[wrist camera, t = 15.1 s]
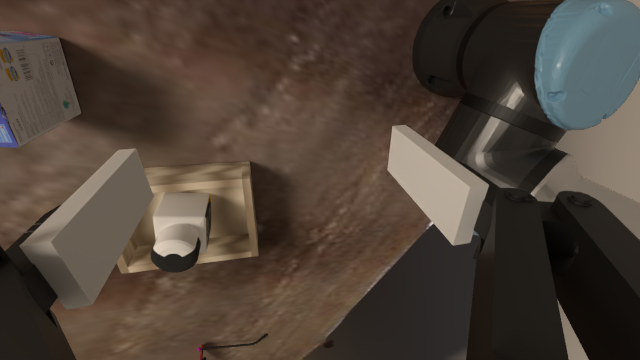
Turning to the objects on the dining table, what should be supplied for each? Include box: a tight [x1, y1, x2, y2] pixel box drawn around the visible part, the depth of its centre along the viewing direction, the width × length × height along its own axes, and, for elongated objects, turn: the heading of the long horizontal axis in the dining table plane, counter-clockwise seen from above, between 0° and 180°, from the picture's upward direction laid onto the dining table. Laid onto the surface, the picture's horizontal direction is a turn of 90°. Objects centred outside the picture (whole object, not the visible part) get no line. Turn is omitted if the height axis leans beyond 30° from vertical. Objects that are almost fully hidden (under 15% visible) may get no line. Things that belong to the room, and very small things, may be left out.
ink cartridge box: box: [0, 31, 81, 148], centre depth 30 cm, size 10×6×14 cm, turn 173°
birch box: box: [117, 161, 258, 274], centre depth 47 cm, size 22×16×6 cm
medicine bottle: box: [150, 192, 211, 272], centre depth 44 cm, size 7×7×12 cm
